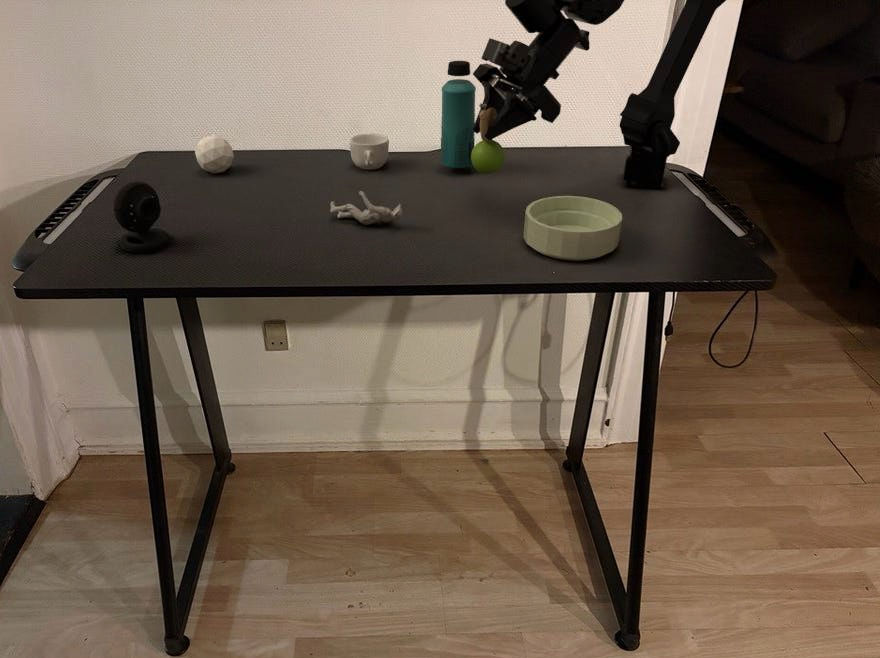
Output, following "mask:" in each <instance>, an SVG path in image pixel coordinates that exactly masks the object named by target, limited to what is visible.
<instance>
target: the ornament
mask: <svg viewBox="0 0 880 658" xmlns="http://www.w3.org/2000/svg"><path fill="white" fill-rule="evenodd" d="M194 154H195V157H196V163H198V164H199V166H200V168H201V169H202V170H204V171H207V172H209V173H211V174H213V175H214V174H219V173H224V172H225V171H226V170H228V169H229V168H230V167H231V165H232V163H233V161H234V158H235V155H234V151H233V146H232V145H231V144H230V142H229V141H228V140H227V139H226V138H224V137H222V136H220V135H218V134H211V135H209V133H206V132H205V134H204V136H203V138H201V139H200V140H199V141H198V143H197V145H196V148H195V150H194Z"/></svg>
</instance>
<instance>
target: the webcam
mask: <svg viewBox="0 0 880 658" xmlns="http://www.w3.org/2000/svg"><path fill="white" fill-rule="evenodd" d="M161 211H162V207H161V204H160V199H159V195H158V193H157V191H156V190H155V189H154V188H153V186H152V185H150V184H149V183H147V182H144V181H135V180H134V181H131V182H128V183H125V184H124V185H123V186H122V187H120V189H118V191H117V193H116V195H115V196H114V201H113V214H114V217H115V219H116V221H117V223H118V224H119V226H121V228H123V229H124V230H126V231H128V232H127V233H125V234H123V235H122V236H121V238H120V239H119V243H118V244H119V247H120V248H121V249H122V250H123V251H125V252H128V253H132V254H146V253H152V252H156V251H160V250H161V249H163V248H164V247H166V246H167V245H168V244H169V242H170V235H169V233H168V232H167V231H166V230H164V229H162V228H158V227H157V228H156V227H153V226H154V224H155V223H156V222H157V221H158V219H159V218H160V216H161ZM135 240H136V241H137V240H140V241H142V242H143V243H133V241H135Z"/></svg>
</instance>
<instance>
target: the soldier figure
mask: <svg viewBox="0 0 880 658" xmlns="http://www.w3.org/2000/svg"><path fill="white" fill-rule="evenodd" d="M358 194H359V195H360V196H361V198H362V199H363V200H362V201H363V202H364V205H365V206H366V207H367V209H364V210H363V211H361V209H359V208H358V207H356V206H355V205H354V204H351V203H347V204H344V205H340V206H336V205H335V201H333V200H332V201H331V202H330V214H334V213H338V214H337V219H342V218H355V220H357V221H358V222H359V223H360V224H363V225H365V226H367V225H372V224H373V223H377V222H383V223H384V224H387V223H389V222H391V221H392V220H397V221H398V223H399V224H400V222H401V220H402V219H403V208H402V205H401V203H399V204H398V205H397V206H396V207H394V208H393V211H392V209H390V208H389V207H385V206H377V205H373V204H372V203H371V202H370V200H369V199H368V198H367V196H366V194H365V193H364V191H362V190H360V191H359V192H358Z"/></svg>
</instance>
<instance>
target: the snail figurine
mask: <svg viewBox="0 0 880 658" xmlns="http://www.w3.org/2000/svg"><path fill="white" fill-rule="evenodd" d="M478 105H479V108H480V109H479V111H480V114H479V113H478V114H479V117H480V132H479V134H480V138H481V141H478V143H476V144H474V148H473V150H472V153H471V161H472V166H473V167H474V169H475V170H476V171H478V172H479V173H481V174H485V175H490V174H493V173H496V172H498V171H499V170H500V169H501V167H502V166H503V164H504V162H505V150H504V148H503V146H502V145H501V144H500V142H498V141H496V140H494V139H491V140H488V139H487V138H486V137H485V134H486V133H487V131H488V129H489V127H490V126H491V124H492V123H493V121H494V120H495V118H496V117H497V112H496V110H495V109H494V108H489V109H487V110H486V111H485V110H482V111H481V107H482V106H483V107H487V105H486V104H484V105H483V104H482V103H479V104H478Z"/></svg>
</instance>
